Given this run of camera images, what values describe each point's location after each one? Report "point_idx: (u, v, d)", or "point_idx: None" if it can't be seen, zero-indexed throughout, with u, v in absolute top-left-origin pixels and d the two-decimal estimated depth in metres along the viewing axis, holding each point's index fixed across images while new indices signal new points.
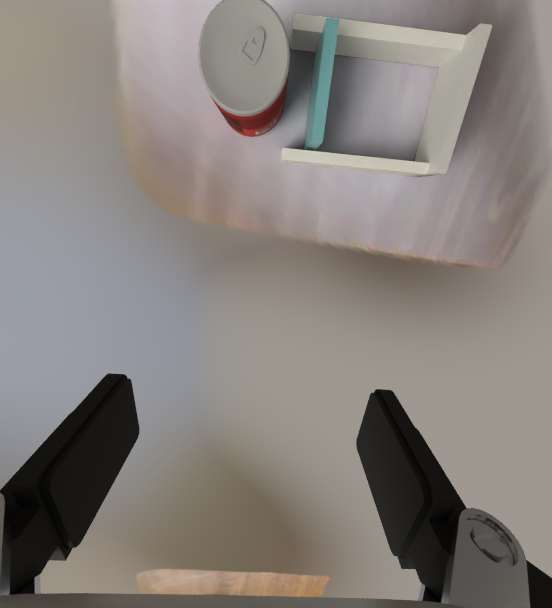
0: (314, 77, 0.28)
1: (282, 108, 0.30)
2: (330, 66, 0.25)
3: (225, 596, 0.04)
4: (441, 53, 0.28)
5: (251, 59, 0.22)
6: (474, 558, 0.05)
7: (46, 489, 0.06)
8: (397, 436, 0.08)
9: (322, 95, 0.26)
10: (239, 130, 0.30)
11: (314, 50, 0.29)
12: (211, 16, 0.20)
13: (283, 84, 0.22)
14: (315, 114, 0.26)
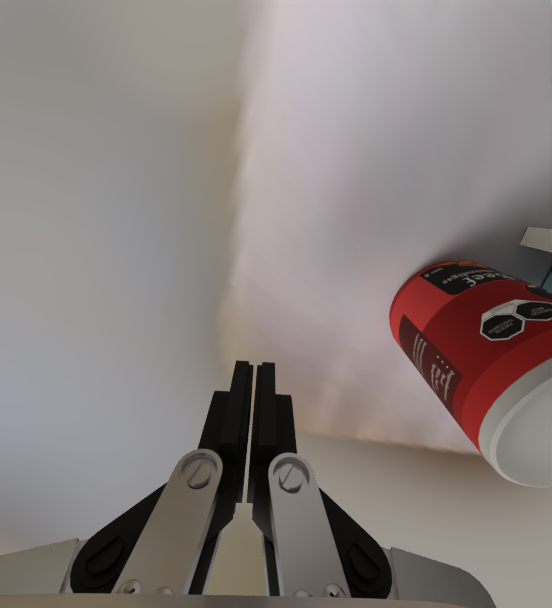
0: None
1: None
2: None
3: (225, 596, 0.04)
4: None
5: None
6: (286, 505, 0.06)
7: (241, 449, 0.07)
8: (256, 398, 0.09)
9: None
10: None
11: None
12: None
13: None
14: None
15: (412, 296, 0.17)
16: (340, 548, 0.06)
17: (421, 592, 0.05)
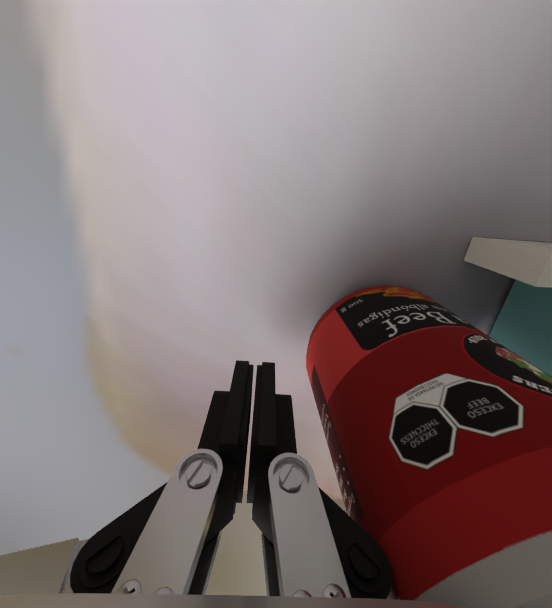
0: (540, 348, 0.12)
1: None
2: None
3: (225, 596, 0.04)
4: None
5: None
6: (286, 505, 0.06)
7: (241, 449, 0.07)
8: (256, 398, 0.09)
9: None
10: None
11: None
12: None
13: None
14: None
15: (323, 341, 0.12)
16: (340, 548, 0.06)
17: None
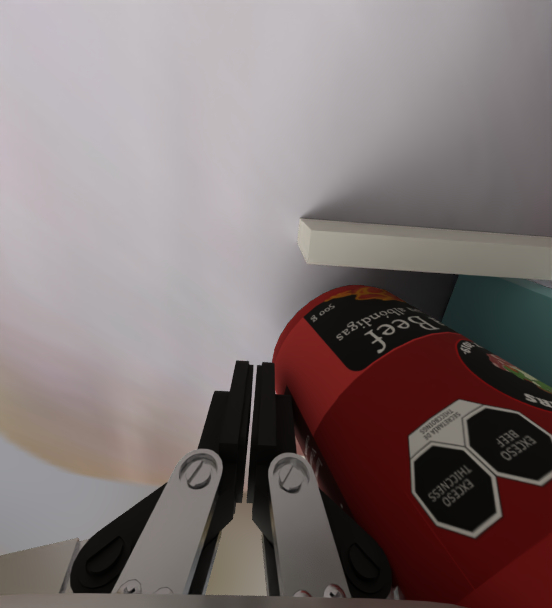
0: (479, 338, 0.12)
1: None
2: None
3: (225, 596, 0.04)
4: None
5: None
6: (286, 505, 0.06)
7: (241, 449, 0.07)
8: (256, 398, 0.09)
9: None
10: None
11: None
12: None
13: None
14: None
15: (296, 357, 0.10)
16: (340, 548, 0.06)
17: None
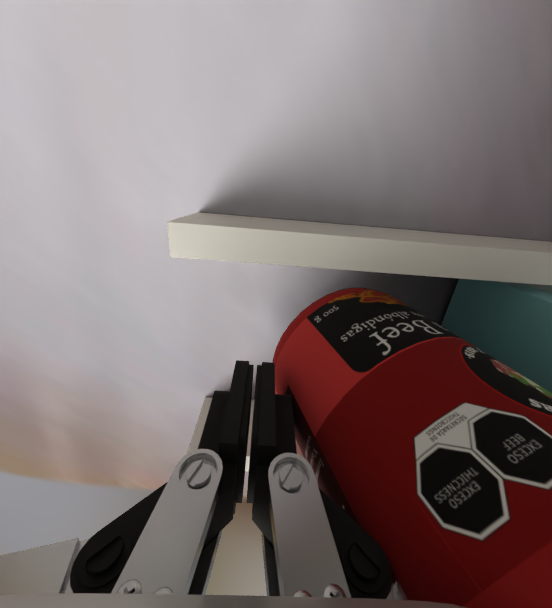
0: (479, 342, 0.12)
1: None
2: None
3: (225, 596, 0.04)
4: None
5: None
6: (286, 505, 0.06)
7: (241, 449, 0.07)
8: (256, 398, 0.09)
9: None
10: None
11: None
12: None
13: None
14: None
15: (299, 357, 0.10)
16: (340, 548, 0.06)
17: None
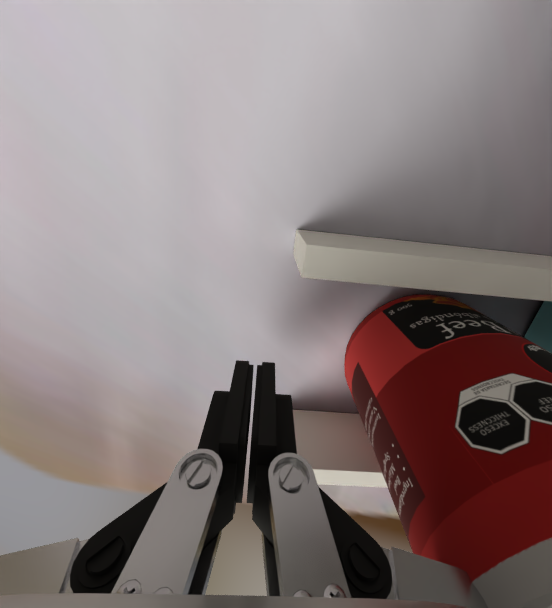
0: None
1: None
2: None
3: (225, 596, 0.04)
4: None
5: None
6: (286, 505, 0.06)
7: (241, 449, 0.07)
8: (256, 398, 0.09)
9: None
10: None
11: None
12: None
13: None
14: None
15: (370, 340, 0.13)
16: (340, 548, 0.06)
17: (421, 592, 0.05)
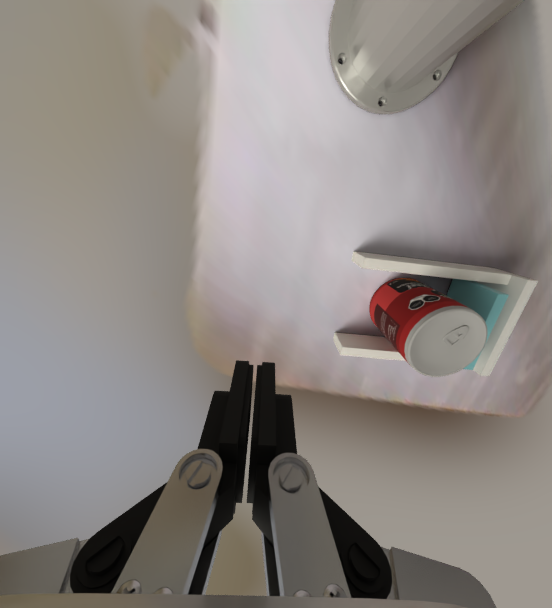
0: None
1: None
2: (493, 323, 0.29)
3: (225, 596, 0.04)
4: None
5: (451, 344, 0.26)
6: (286, 505, 0.06)
7: (241, 449, 0.07)
8: (256, 398, 0.09)
9: None
10: None
11: None
12: (431, 319, 0.24)
13: None
14: None
15: (382, 294, 0.33)
16: (340, 548, 0.06)
17: (421, 592, 0.05)
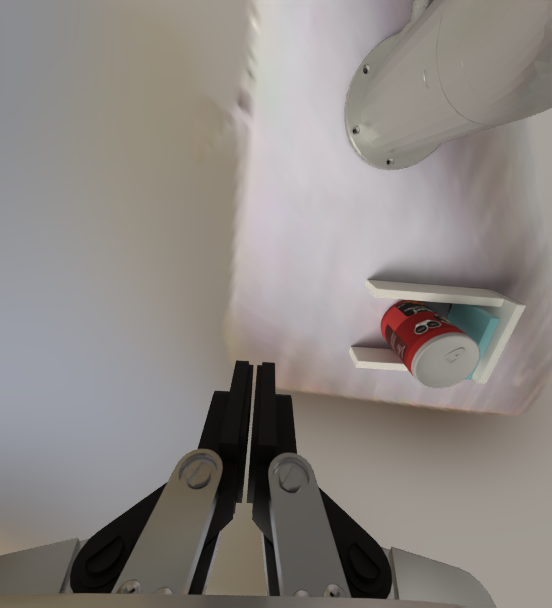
0: (459, 322, 0.38)
1: None
2: (487, 341, 0.34)
3: (225, 596, 0.04)
4: None
5: (450, 362, 0.31)
6: (286, 504, 0.06)
7: (241, 449, 0.07)
8: (256, 398, 0.09)
9: None
10: None
11: None
12: (433, 344, 0.30)
13: None
14: None
15: (391, 315, 0.38)
16: (340, 548, 0.06)
17: (421, 592, 0.05)
